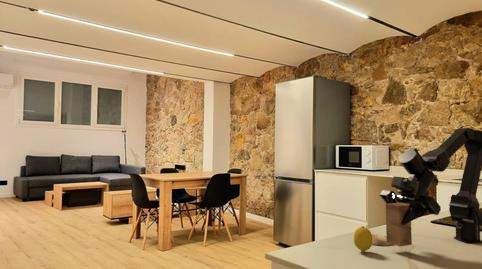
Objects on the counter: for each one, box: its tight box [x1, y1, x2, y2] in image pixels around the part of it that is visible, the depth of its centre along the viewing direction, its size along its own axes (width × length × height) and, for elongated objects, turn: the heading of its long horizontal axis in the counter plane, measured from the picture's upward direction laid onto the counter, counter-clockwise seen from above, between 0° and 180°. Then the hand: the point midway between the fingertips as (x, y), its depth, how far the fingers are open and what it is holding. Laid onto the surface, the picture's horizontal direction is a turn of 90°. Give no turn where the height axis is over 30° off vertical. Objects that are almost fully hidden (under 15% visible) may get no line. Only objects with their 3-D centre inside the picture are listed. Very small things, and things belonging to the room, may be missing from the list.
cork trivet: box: [371, 233, 393, 247], centre depth 121 cm, size 11×11×1 cm
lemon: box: [353, 225, 373, 253], centre depth 108 cm, size 6×6×8 cm
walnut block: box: [385, 203, 413, 247], centre depth 108 cm, size 5×5×12 cm
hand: (395, 222), depth 108 cm, fingers closed on walnut block, 5 cm apart
